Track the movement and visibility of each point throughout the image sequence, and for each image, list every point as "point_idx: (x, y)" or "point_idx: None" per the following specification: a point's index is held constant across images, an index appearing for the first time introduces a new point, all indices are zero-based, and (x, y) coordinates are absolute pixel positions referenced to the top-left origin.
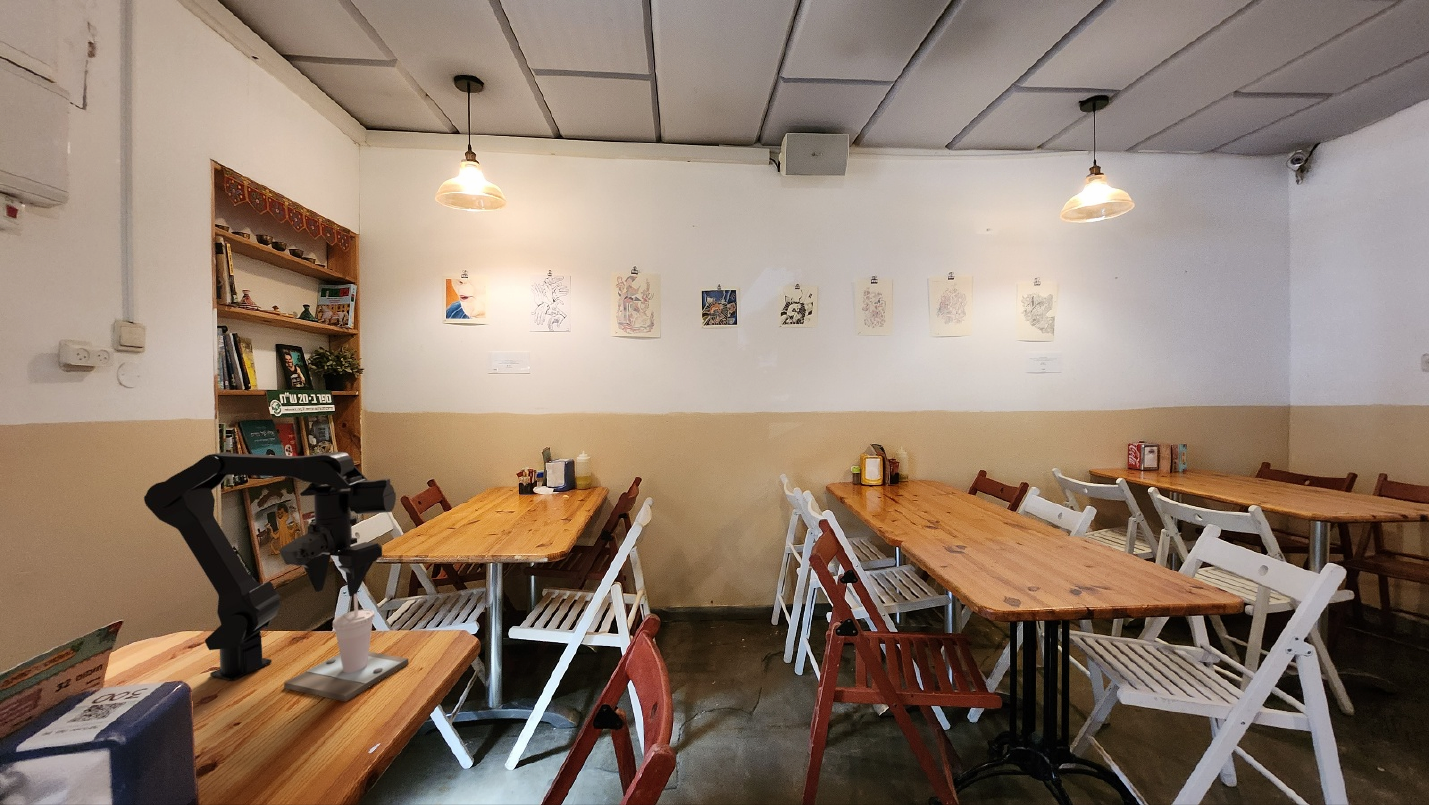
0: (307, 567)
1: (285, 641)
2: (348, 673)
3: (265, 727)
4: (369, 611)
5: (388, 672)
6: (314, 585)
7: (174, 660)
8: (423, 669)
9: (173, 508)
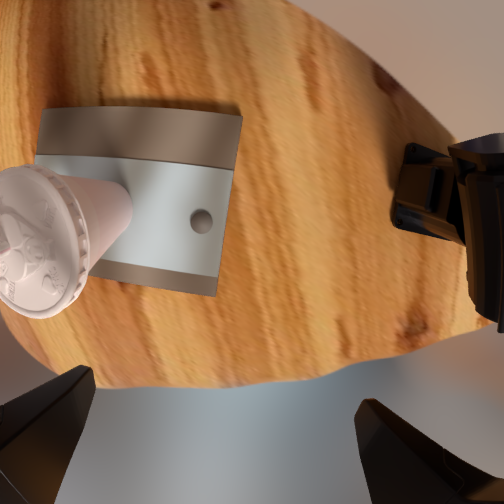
0: (472, 496)
1: (433, 313)
2: (100, 179)
3: (140, 11)
4: (14, 301)
5: None
6: (388, 420)
7: None
8: None
9: None
